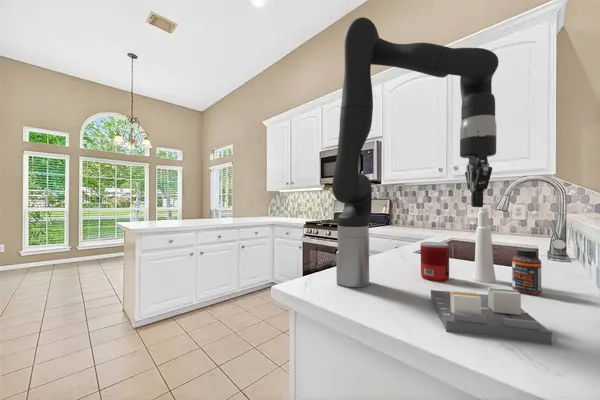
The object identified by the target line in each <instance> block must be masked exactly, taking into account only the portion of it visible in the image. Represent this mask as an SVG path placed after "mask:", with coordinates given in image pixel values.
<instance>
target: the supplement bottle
mask: <svg viewBox="0 0 600 400" xmlns="http://www.w3.org/2000/svg"><path fill="white" fill-rule="evenodd" d="M511 260H512V261H511V265H512V266H511V267H512V268H511V269H512V274H511V276H512V277H511V279H512V280H511V284H512V285H511V287H512V288H511V289H514V290H517V291H518V293H520V294H524V295H531V296H538V295H541V294H542V260H541V259H540V258H539V257H537V250H535V249H532V248H522V247H521V248H519V247H518V248H516V255H514V256H513V257H512V259H511Z"/></svg>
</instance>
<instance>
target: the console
mask: <svg viewBox="0 0 600 400" xmlns="http://www.w3.org/2000/svg"><path fill="white" fill-rule="evenodd" d="M478 294H479V297H480V298H481V315H473V314H464V313H454V312H453V314H452V312H451V299H450V291H448V290H447V291H446V290H436V289H435V290H434V289H430V300H431V301H432V304H433V306H434V308H435V309H436V313H437V314H438V316H439V318H440V321H441V323H442V325H443V327H444V329H445V331H446V332H448V333H457V334H464V335H472V336H473V335H474V336H482V337H487V338H488V337H490V338H497V339H505V340H506V339H507V340H514V341H521V342H529V343H536V342H537V344H547V345H553V333H552V331H551V330H549V329H548V328H547V327H546V326H544V325H543V324H541V323H540V322H539V321H538V320H537V319H535V318H534V317H533V316H531V314H529V312H527V311H525V310H524V309H523V308H521V315H518V314H508V313H498V312H493V311H492V310H491V309H490V308H489V307H488V294H482V293H478Z"/></svg>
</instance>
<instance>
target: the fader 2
mask: <svg viewBox="0 0 600 400" xmlns="http://www.w3.org/2000/svg"><path fill="white" fill-rule="evenodd" d="M521 294H522V293H520V292H518V291H517V290H514V289H513V288H500V287H490V286H489V287H488V288H487V295H488V307H489V308H490V309H491V310H492V311H493V312H498V313H508V314H518V315H521V309H522V295H521Z"/></svg>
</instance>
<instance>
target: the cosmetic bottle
mask: <svg viewBox="0 0 600 400" xmlns="http://www.w3.org/2000/svg"><path fill="white" fill-rule="evenodd" d="M489 214H490V213H489V211H488V208H484V207H478V212H477V227H476V229H475V230H476V231H475V249H474V250H475V251H474V266H473V273H472V277H471V278H472V280H474V281H476V282H479V283H486V284H487V283H488V284H493V283H497V278H496V271H495V267H494V258H493V257H494V255H493V242H492V241H493V240H492V239H493V238H492V228H491V227H490V215H489Z"/></svg>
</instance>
